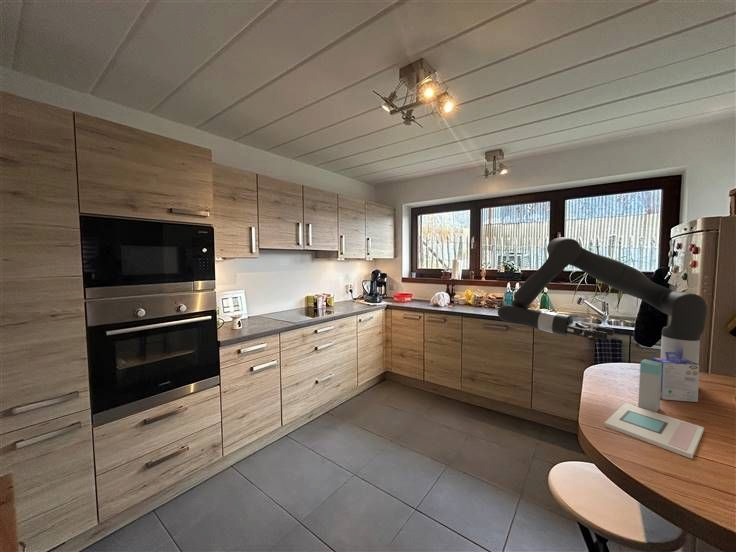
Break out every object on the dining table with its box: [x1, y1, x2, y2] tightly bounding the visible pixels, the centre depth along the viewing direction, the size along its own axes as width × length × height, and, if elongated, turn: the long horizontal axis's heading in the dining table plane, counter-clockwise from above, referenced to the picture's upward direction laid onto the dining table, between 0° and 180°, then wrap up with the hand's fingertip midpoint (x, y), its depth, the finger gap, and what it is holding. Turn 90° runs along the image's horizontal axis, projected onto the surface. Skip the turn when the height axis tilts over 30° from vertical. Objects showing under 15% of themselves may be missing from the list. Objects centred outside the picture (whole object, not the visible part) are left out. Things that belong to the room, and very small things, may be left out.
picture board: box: [604, 402, 705, 459], centre depth 78 cm, size 18×16×1 cm
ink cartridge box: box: [651, 352, 700, 403], centre depth 94 cm, size 10×6×14 cm, turn 78°
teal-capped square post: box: [637, 358, 662, 413], centre depth 88 cm, size 4×4×14 cm
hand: (610, 334), depth 95 cm, fingers open, 8 cm apart
